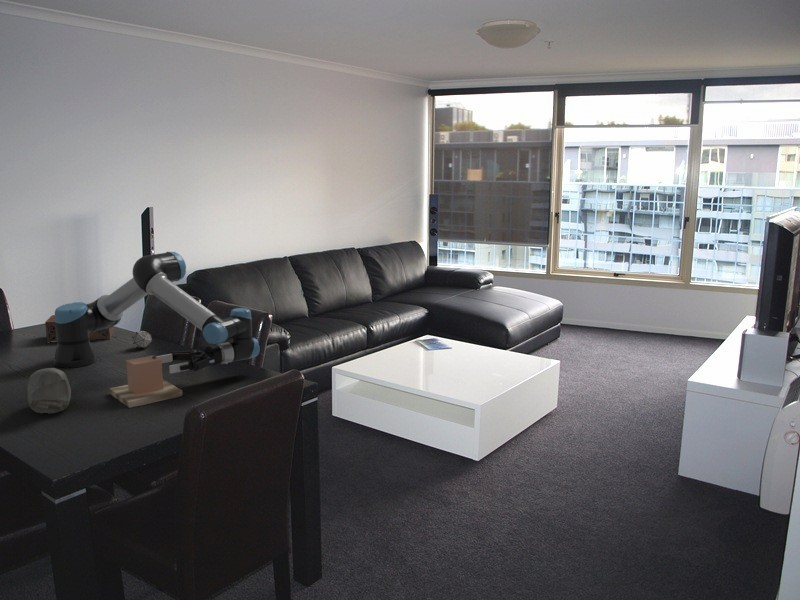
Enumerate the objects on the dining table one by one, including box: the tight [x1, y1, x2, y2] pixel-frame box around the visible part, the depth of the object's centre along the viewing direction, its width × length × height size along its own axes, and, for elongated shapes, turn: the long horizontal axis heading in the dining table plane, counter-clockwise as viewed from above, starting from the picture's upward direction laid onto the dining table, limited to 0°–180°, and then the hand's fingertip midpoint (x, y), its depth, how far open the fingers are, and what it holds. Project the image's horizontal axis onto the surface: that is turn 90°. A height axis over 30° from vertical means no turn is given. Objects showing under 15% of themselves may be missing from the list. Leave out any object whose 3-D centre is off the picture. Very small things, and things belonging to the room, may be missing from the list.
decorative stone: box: [27, 367, 72, 414], centre depth 210 cm, size 12×17×15 cm
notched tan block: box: [126, 354, 164, 395], centre depth 224 cm, size 7×9×11 cm
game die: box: [131, 328, 155, 350], centre depth 283 cm, size 9×8×10 cm
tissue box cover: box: [45, 314, 115, 343], centre depth 300 cm, size 26×14×10 cm, turn 107°
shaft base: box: [109, 378, 183, 409], centre depth 224 cm, size 18×18×10 cm
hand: (161, 365), depth 227 cm, fingers open, 13 cm apart
